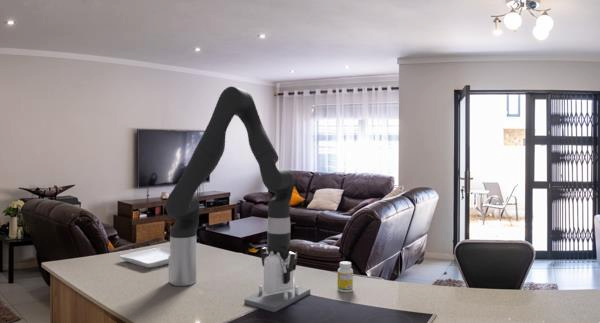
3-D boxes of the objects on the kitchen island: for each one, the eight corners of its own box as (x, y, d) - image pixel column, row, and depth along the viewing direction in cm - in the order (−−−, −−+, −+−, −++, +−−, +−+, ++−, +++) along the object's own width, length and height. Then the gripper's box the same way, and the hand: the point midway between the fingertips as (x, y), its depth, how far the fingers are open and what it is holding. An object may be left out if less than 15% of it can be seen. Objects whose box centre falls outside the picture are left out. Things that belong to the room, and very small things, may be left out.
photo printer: (288, 285, 145) (288, 249, 145) (295, 289, 142) (295, 252, 141) (261, 291, 140) (261, 253, 139) (268, 295, 136) (268, 256, 136)
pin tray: (244, 303, 136) (244, 291, 136) (281, 286, 152) (282, 275, 152) (274, 312, 129) (274, 299, 129) (310, 293, 146) (310, 281, 146)
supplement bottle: (350, 293, 146) (350, 265, 146) (335, 291, 148) (335, 263, 148) (354, 288, 151) (354, 261, 151) (339, 286, 153) (340, 259, 153)
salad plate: (160, 253, 199) (160, 245, 199) (190, 260, 186) (190, 252, 186) (118, 263, 182) (118, 255, 182) (148, 272, 169) (148, 263, 169)
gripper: (303, 231, 139) (303, 282, 140) (268, 226, 147) (268, 274, 148) (290, 235, 133) (289, 289, 134) (254, 229, 141) (254, 280, 142)
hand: (278, 281), depth 141 cm, fingers closed on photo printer, 5 cm apart
